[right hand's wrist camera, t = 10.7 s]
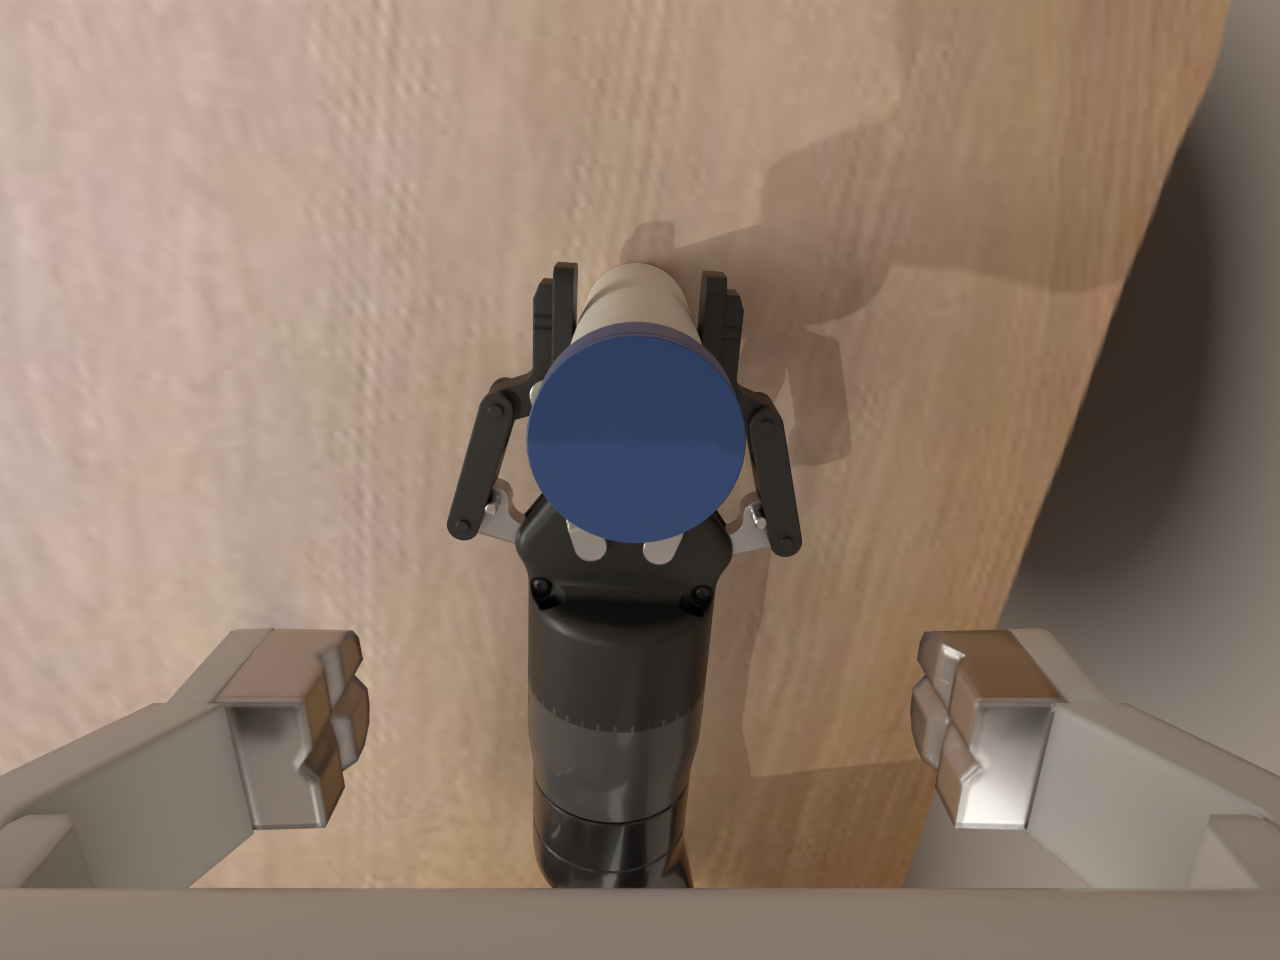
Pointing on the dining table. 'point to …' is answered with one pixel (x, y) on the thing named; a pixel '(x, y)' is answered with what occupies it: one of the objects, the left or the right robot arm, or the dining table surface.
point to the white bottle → (636, 301)
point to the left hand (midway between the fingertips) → (639, 271)
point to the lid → (636, 433)
